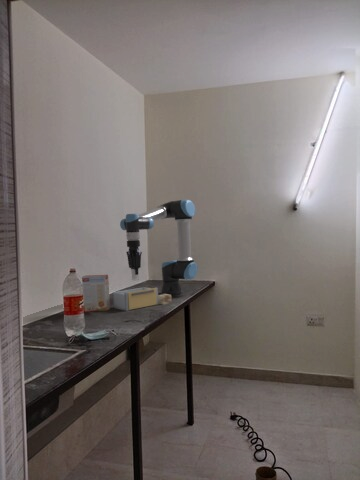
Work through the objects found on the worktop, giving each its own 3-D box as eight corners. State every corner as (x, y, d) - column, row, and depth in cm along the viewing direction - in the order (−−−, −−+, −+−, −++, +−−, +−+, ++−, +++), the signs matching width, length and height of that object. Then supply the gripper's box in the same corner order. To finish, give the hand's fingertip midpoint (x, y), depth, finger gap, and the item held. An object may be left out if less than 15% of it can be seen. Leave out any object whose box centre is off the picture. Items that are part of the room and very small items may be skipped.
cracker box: (110, 310, 227) (108, 274, 226) (106, 312, 221) (104, 275, 220) (88, 310, 230) (86, 274, 229) (83, 312, 224) (81, 276, 223)
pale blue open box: (144, 303, 242) (143, 285, 242) (158, 306, 231) (157, 287, 231) (113, 309, 229) (112, 290, 228) (126, 312, 217) (125, 293, 217)
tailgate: (156, 304, 230) (155, 288, 230) (157, 304, 229) (156, 288, 229) (128, 309, 218) (127, 292, 218) (129, 309, 217) (128, 292, 217)
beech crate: (165, 303, 239) (164, 293, 239) (172, 304, 234) (171, 294, 234) (157, 305, 235) (156, 295, 235) (163, 306, 230) (163, 296, 230)
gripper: (121, 240, 231) (123, 280, 232) (134, 240, 220) (136, 281, 221) (132, 239, 236) (134, 278, 237) (145, 239, 225) (147, 280, 226)
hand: (135, 280), depth 229 cm, fingers closed
